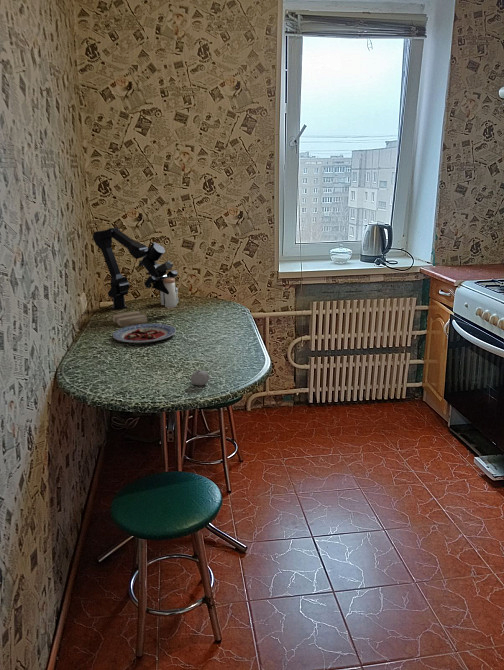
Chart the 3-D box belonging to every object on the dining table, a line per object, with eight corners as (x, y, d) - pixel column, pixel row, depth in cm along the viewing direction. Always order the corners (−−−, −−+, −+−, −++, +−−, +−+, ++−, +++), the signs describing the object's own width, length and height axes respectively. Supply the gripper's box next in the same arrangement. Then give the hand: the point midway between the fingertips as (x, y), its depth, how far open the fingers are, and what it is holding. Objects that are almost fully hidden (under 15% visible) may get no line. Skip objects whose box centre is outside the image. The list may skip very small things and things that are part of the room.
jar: (163, 305, 255) (161, 278, 251) (173, 304, 257) (171, 277, 253) (167, 308, 250) (165, 280, 246) (178, 306, 253) (176, 279, 249)
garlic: (196, 389, 168) (195, 373, 167) (187, 384, 172) (187, 368, 171) (212, 384, 172) (212, 369, 170) (204, 379, 176) (203, 364, 174)
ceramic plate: (163, 348, 209) (163, 340, 208) (102, 345, 214) (101, 338, 213) (184, 329, 233) (184, 322, 232) (129, 327, 238) (128, 321, 237)
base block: (113, 321, 248) (112, 314, 247) (137, 317, 254) (137, 310, 253) (121, 326, 238) (121, 320, 237) (147, 322, 244) (146, 316, 243)
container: (176, 305, 274) (174, 280, 270) (161, 305, 274) (159, 280, 270) (178, 302, 281) (176, 277, 277) (163, 302, 281) (161, 277, 278)
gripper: (147, 258, 241) (168, 285, 239) (173, 253, 256) (193, 278, 254) (135, 274, 247) (155, 300, 245) (161, 268, 263) (181, 292, 260)
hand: (172, 292), depth 251 cm, fingers closed on jar, 5 cm apart
